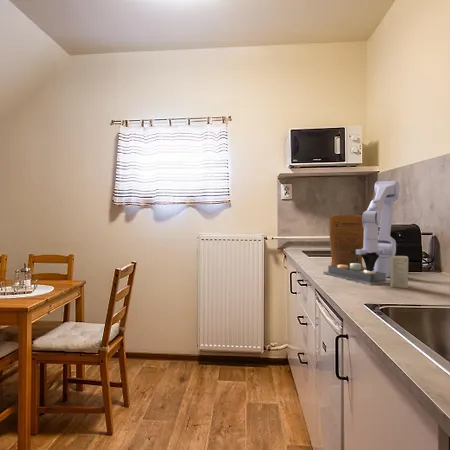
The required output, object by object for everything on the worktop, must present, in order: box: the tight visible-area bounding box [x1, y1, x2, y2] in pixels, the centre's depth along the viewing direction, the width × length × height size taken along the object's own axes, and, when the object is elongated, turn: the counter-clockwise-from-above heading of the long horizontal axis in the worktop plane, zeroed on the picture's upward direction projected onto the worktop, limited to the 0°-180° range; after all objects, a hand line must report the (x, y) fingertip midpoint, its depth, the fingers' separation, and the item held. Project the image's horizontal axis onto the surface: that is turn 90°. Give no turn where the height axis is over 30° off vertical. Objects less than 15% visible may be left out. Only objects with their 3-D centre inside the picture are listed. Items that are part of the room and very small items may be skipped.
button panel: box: [323, 265, 390, 286], centre depth 163 cm, size 12×28×4 cm, turn 26°
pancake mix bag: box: [328, 214, 364, 269], centre depth 196 cm, size 7×19×28 cm, turn 67°
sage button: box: [350, 263, 361, 271], centre depth 163 cm, size 5×5×3 cm
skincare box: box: [389, 255, 409, 289], centre depth 146 cm, size 6×4×12 cm
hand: (369, 270), depth 156 cm, fingers closed, pressing on ivory button
